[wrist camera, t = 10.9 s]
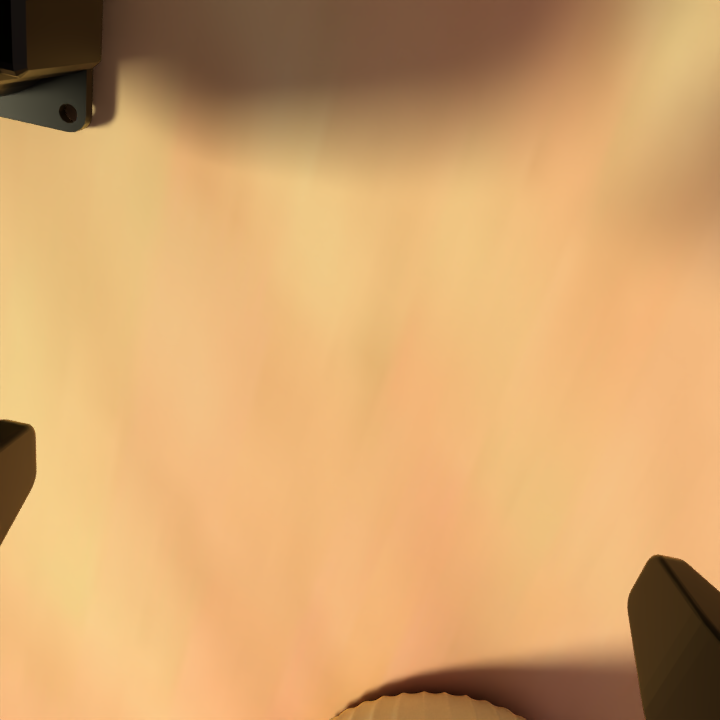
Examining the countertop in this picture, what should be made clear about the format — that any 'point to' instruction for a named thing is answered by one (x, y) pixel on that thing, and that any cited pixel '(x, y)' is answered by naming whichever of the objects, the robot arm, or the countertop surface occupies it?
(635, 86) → the countertop surface
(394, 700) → the canister
